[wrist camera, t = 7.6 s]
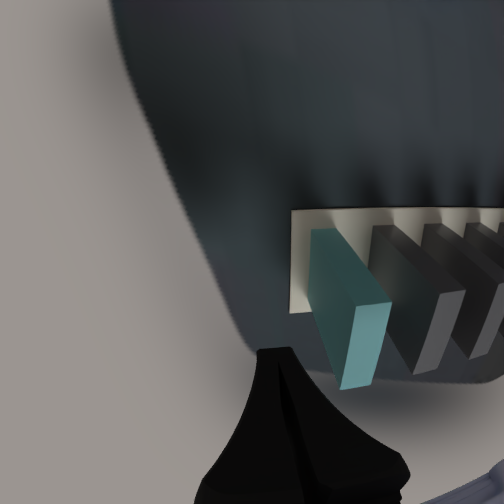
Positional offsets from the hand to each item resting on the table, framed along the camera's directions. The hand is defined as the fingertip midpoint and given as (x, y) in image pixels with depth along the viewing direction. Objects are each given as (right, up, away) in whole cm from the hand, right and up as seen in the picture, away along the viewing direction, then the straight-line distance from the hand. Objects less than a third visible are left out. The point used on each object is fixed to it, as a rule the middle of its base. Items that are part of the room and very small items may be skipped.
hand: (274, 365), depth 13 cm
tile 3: (+12, +4, +8) cm, 15 cm away
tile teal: (+4, +4, +8) cm, 9 cm away
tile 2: (+8, +4, +8) cm, 12 cm away
